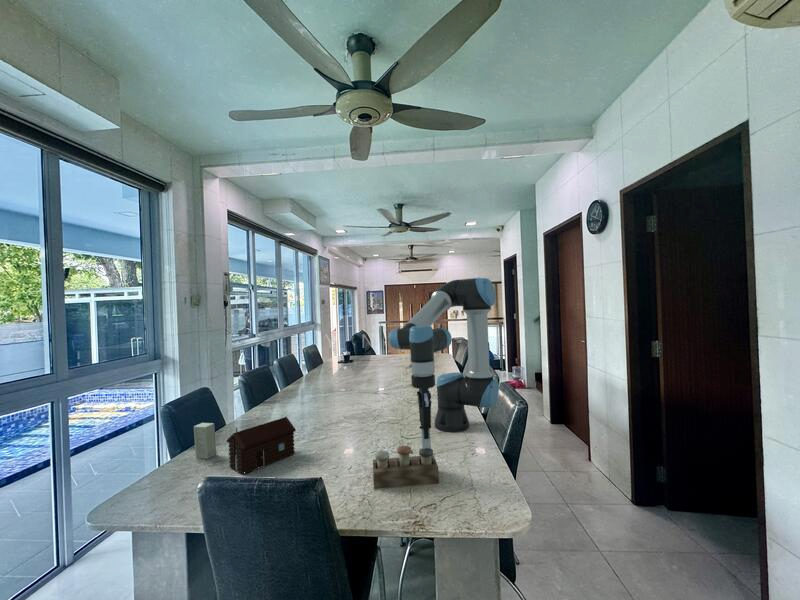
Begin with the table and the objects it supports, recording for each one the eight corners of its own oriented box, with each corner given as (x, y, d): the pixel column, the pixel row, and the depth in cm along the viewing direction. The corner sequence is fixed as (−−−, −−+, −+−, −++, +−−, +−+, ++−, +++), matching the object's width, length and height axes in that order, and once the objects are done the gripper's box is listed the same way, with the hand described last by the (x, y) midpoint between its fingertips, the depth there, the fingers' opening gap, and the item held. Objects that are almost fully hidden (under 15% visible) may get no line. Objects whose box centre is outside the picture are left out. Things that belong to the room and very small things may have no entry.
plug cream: (389, 475, 117) (388, 450, 117) (390, 481, 113) (389, 456, 113) (376, 476, 117) (375, 451, 117) (376, 483, 112) (375, 457, 112)
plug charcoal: (432, 471, 118) (431, 447, 118) (435, 478, 114) (434, 452, 114) (419, 472, 118) (418, 448, 118) (421, 479, 113) (420, 454, 113)
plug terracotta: (411, 470, 118) (410, 445, 118) (412, 476, 113) (411, 450, 113) (397, 471, 117) (396, 446, 117) (398, 477, 113) (397, 452, 113)
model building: (243, 476, 122) (242, 431, 122) (227, 467, 129) (226, 425, 129) (296, 454, 137) (295, 415, 137) (279, 447, 145) (278, 410, 145)
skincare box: (216, 454, 140) (215, 423, 140) (207, 459, 136) (206, 427, 136) (203, 453, 142) (202, 422, 142) (194, 458, 138) (193, 426, 138)
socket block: (433, 469, 120) (433, 454, 120) (439, 483, 112) (438, 467, 112) (373, 474, 119) (372, 459, 119) (373, 488, 110) (373, 472, 110)
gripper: (409, 370, 123) (412, 440, 123) (413, 379, 110) (417, 457, 110) (431, 369, 123) (434, 438, 123) (438, 377, 110) (441, 455, 110)
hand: (426, 447), depth 117 cm, fingers closed
